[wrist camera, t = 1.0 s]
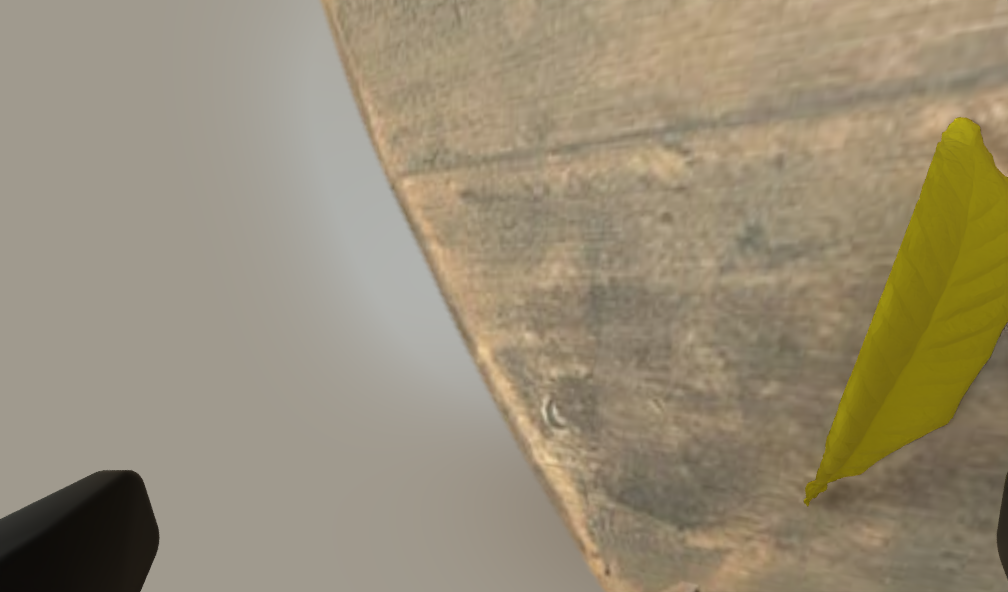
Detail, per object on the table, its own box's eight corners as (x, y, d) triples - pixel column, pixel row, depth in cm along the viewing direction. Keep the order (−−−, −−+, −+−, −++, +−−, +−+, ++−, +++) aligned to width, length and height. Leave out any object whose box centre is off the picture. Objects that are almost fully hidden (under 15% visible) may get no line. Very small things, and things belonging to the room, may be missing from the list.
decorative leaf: (903, 556, 19) (781, 551, 18) (847, 505, 21) (733, 497, 20) (1094, 149, 17) (964, 112, 15) (1010, 130, 18) (887, 95, 17)
